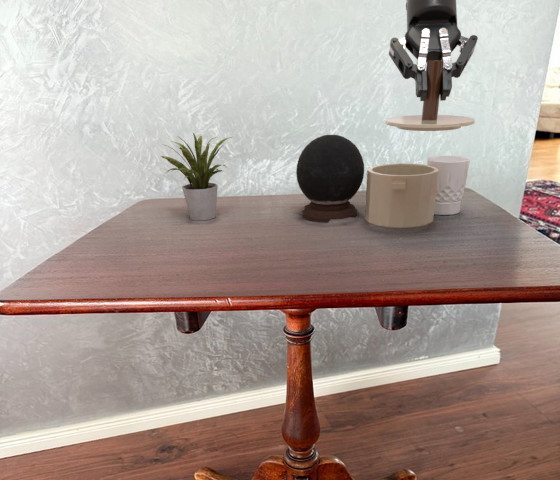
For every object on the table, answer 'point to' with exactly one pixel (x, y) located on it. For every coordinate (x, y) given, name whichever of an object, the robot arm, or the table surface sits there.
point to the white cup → (449, 183)
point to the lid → (431, 107)
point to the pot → (401, 195)
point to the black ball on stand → (330, 177)
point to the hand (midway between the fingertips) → (434, 96)
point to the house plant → (198, 179)
